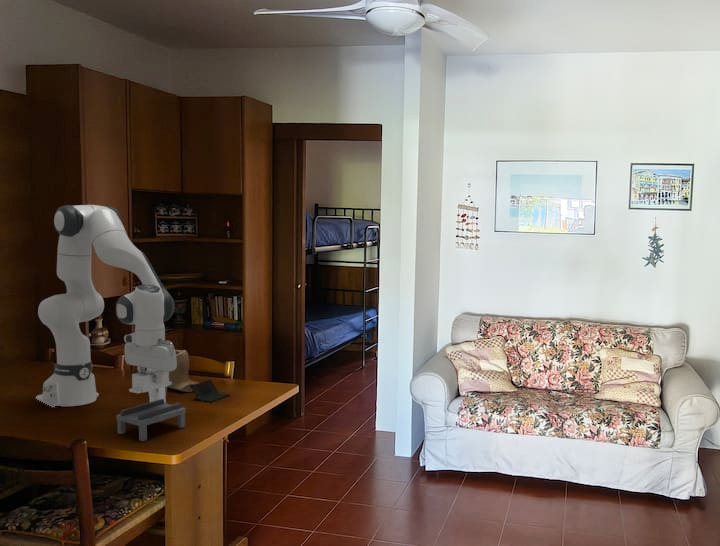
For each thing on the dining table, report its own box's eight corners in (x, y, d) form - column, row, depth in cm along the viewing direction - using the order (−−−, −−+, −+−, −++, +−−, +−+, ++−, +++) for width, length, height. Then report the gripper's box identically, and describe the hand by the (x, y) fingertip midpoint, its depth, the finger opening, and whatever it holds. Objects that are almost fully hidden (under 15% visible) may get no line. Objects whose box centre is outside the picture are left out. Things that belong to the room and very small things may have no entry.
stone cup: (156, 388, 269) (156, 349, 268) (184, 383, 277) (183, 345, 276) (177, 396, 258) (176, 356, 257) (205, 390, 267) (204, 351, 265)
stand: (116, 434, 215) (116, 410, 215) (160, 420, 229) (159, 397, 229) (142, 441, 209) (142, 416, 208) (185, 426, 223) (185, 403, 222)
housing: (162, 382, 224) (161, 366, 224) (172, 384, 222) (172, 368, 221) (128, 391, 213) (127, 374, 213) (139, 393, 211) (138, 376, 210)
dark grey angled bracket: (216, 399, 249) (203, 375, 251) (201, 410, 250) (188, 386, 253) (232, 396, 260) (218, 373, 262) (218, 406, 261) (204, 383, 264)
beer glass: (146, 408, 243) (145, 365, 242) (166, 406, 246) (166, 363, 244) (148, 413, 237) (147, 369, 235) (169, 411, 239) (169, 368, 238)
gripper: (181, 339, 213) (182, 384, 214) (136, 332, 224) (138, 375, 226) (165, 343, 208) (166, 388, 209) (120, 335, 219) (121, 379, 220)
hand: (151, 381), depth 218 cm, fingers closed on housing, 5 cm apart
